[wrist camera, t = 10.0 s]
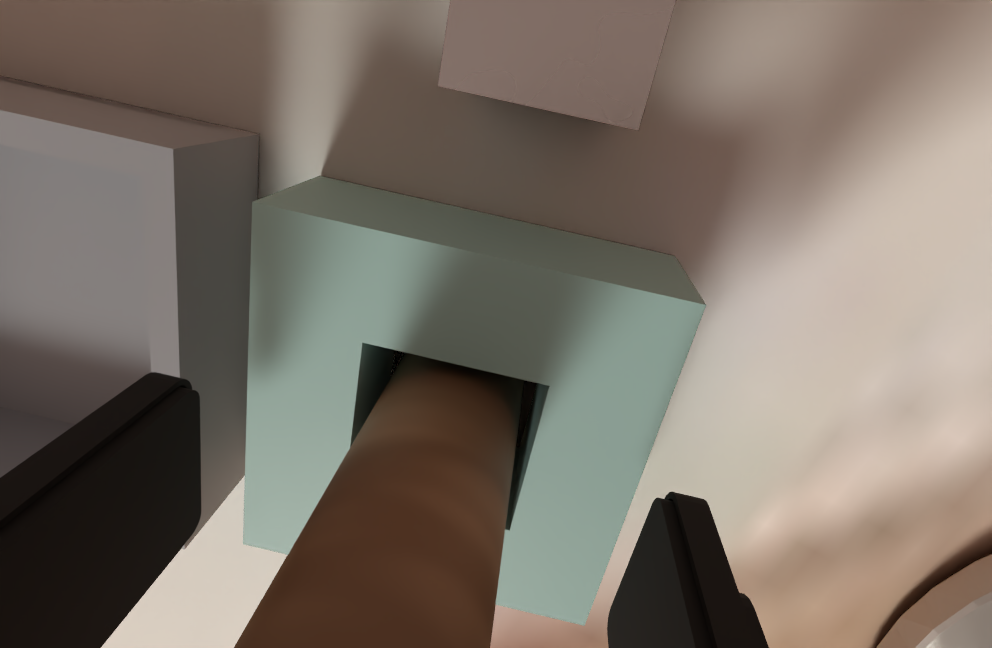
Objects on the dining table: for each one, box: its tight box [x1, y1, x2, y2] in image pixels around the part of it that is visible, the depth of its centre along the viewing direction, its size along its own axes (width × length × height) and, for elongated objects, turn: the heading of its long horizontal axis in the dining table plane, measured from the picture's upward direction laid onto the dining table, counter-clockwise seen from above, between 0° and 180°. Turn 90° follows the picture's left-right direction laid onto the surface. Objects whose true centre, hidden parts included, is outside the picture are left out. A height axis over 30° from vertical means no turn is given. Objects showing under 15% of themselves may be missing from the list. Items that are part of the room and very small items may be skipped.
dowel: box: [234, 352, 524, 648], centre depth 10 cm, size 3×3×10 cm
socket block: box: [243, 176, 706, 625], centre depth 13 cm, size 8×8×3 cm
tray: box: [0, 76, 259, 549], centre depth 13 cm, size 9×9×3 cm
